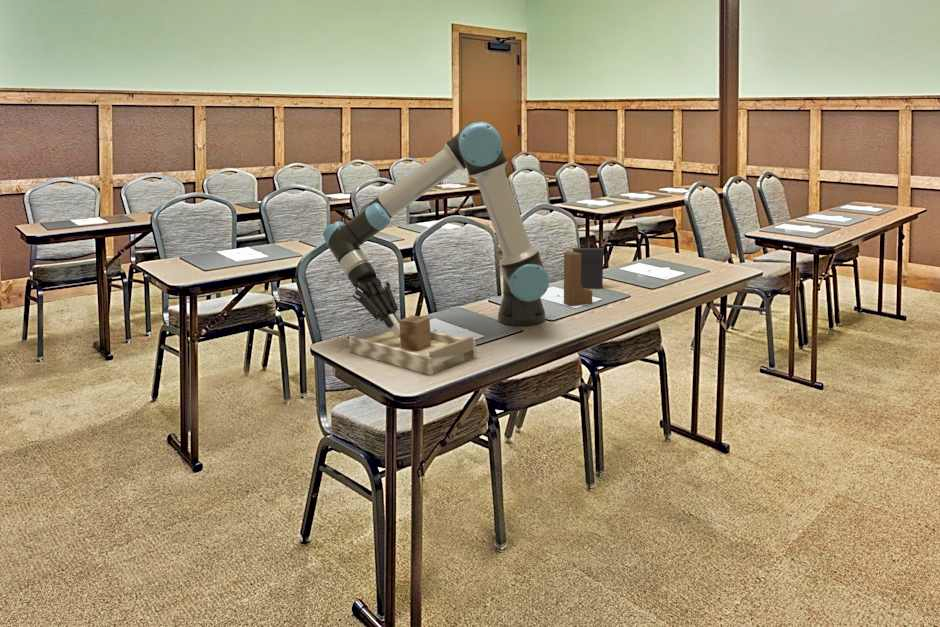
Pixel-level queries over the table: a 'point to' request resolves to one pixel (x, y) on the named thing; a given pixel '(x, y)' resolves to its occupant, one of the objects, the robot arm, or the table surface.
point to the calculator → (591, 267)
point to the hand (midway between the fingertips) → (400, 335)
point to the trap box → (427, 360)
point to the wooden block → (574, 281)
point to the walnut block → (415, 333)
